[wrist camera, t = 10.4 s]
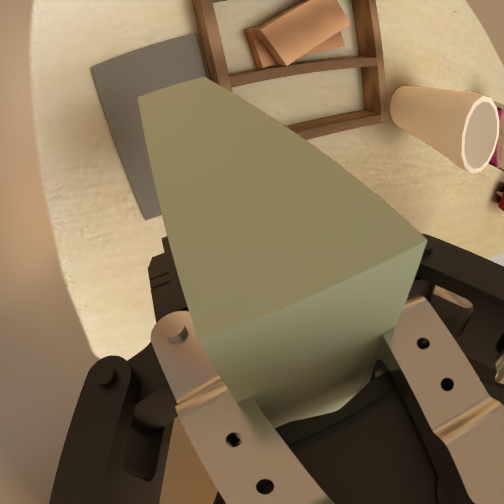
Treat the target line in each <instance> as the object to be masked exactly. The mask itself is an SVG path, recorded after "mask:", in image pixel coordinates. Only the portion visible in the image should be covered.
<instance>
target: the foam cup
mask: <svg viewBox="0 0 504 504" xmlns="http://www.w3.org/2000/svg"><path fill="white" fill-rule="evenodd" d="M390 115H391V118H392V120H393V122H394V124H395V125H397V126H398V127H400V128H402V129H403V130H405V131H406V132H408V133H410V134H411V135H413V136H415V137H416V138H418V139H420V140H421V141H423V142H424V143H426V144H428V145H429V146H431V147H432V148H434V149H435V150H437V151H438V152H440V153H441V154H443V155H444V156H446V157H447V158H449V160H450V161H451V162H453V163H454V164H455V165H456V166H458V167H460V168H462V169H464V170H465V171H467V172H469V173H471V174H473V173H478V172H480V171H481V170H482V169H483V168H484V167H485V166H486V165H487V164H488V163H489V161H490V159H491V157H492V155H493V153H494V151H495V148H496V144H497V140H498V136H499V116H498V111H497V106H496V105H495V103H494V102H493V100H492V99H491V98H490V97H487V96H484V95H481V94H478V93H475V92H469V91H465V92H460V91H452V90H445V89H436V88H426V87H415V86H402V87H400V88H398V89H396V91H395V93H394V94H393V96H392V98H391V103H390Z"/></svg>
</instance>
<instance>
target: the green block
mask: <svg viewBox="0 0 504 504" xmlns="http://www.w3.org/2000/svg"><path fill="white" fill-rule="evenodd" d="M138 103H139V108H140V114H141V119H142V125H143V130H144V135H145V140H146V145H147V150H148V155H149V160H150V165H151V169H152V174H153V178H154V183H155V187H156V192H157V196H158V200H159V204H160V208H161V213H162V217H163V221H164V225H165V228H166V232H167V236H168V240H169V244H170V248H171V251H172V255H173V259H174V262H175V266H176V269H177V273H178V276H179V280H180V283H181V287H182V290H183V293H184V297H185V300H186V303H187V307H188V310H189V313H190V316H191V319H192V323H193V326H194V329H195V332H196V335H197V338H198V341H199V343H200V345H201V346H202V348H203V350H204V351H205V353H206V355H207V356H208V358H209V360H210V361H211V363H212V365H213V366H214V368H215V369H216V371H217V373H218V374H219V376H220V377H221V379H222V381H223V382H224V384H225V385H226V387H227V388H228V390H229V392H230V393H231V395H232V396H233V398H234V399H235V401H236V402H239V401H241V400H244V399H247V398H249V397H252V398H253V399H254V400H255V402H256V403H257V405H258V406H259V408H260V409H261V410H262V412H263V413H264V415H265V416H266V417H267V419H268V420H269V422H270V423H271V424H272V426H273V427H274V428H276V427H279V426H281V425H284V424H286V423H288V422H290V421H295V420H300V419H305V418H310V417H314V416H319V415H323V414H328V413H332V412H335V411H337V410H339V409H340V408H342V407H343V406H344V405H345V404H346V403H347V402H348V401H349V400H351V399H352V398H353V397H354V396H355V395H356V394H357V392H358V390H359V388H360V386H361V383H362V381H363V379H364V377H365V374H366V372H367V370H368V367H369V365H370V363H371V360H372V358H373V355H374V353H375V350H376V348H377V345H378V343H379V340H380V338H381V335H382V333H384V332H386V331H388V330H389V329H391V328H393V327H394V326H396V323H397V321H398V319H399V316H400V314H401V312H402V309H403V307H404V304H405V302H406V299H407V297H408V294H409V292H410V289H411V286H412V284H413V281H414V278H415V275H416V273H417V270H418V267H419V264H420V261H421V258H422V255H423V252H424V249H425V246H426V243H427V239H426V238H425V237H424V236H423V235H422V234H421V233H420V232H419V231H417V230H416V229H415V228H414V227H413V226H412V225H411V224H410V223H409V222H408V221H406V220H405V219H404V218H403V217H402V216H401V215H400V214H399V213H398V212H396V211H395V210H394V209H393V208H392V207H391V206H389V205H388V204H387V203H386V202H385V201H384V200H382V199H381V198H380V197H379V196H378V195H377V194H375V193H374V192H373V191H372V190H370V189H369V188H368V187H367V186H366V185H364V184H363V183H362V182H361V181H359V180H358V179H357V178H356V177H354V176H353V175H352V174H351V173H349V172H348V171H347V170H345V169H344V168H343V167H342V166H340V165H339V164H338V163H336V162H335V161H334V160H332V159H331V158H330V157H328V156H327V155H326V154H324V153H323V152H321V151H320V150H319V149H317V148H316V147H315V146H313V145H312V144H310V143H309V142H308V141H306V140H305V139H303V138H302V137H300V136H299V135H298V134H296V133H295V132H293V131H292V130H290V129H289V128H287V127H286V126H284V125H283V124H281V123H280V122H278V121H277V120H275V119H274V118H272V117H271V116H269V115H268V114H266V113H265V112H263V111H261V110H260V109H258V108H257V107H255V106H253V105H252V104H250V103H249V102H247V101H245V100H244V99H242V98H240V97H239V96H237V95H235V94H234V93H232V92H230V91H228V90H227V89H225V88H223V87H222V86H220V85H218V84H216V83H215V82H213V81H211V80H209V79H207V78H206V77H201V78H197V79H193V80H190V81H186V82H183V83H179V84H176V85H173V86H169V87H166V88H163V89H160V90H157V91H154V92H151V93H148V94H145V95H142V96H139V97H138Z"/></svg>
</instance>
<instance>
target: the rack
mask: <svg viewBox="0 0 504 504" xmlns="http://www.w3.org/2000/svg"><path fill="white" fill-rule="evenodd" d="M219 1H225V0H192V2H193V6H194V10H195V15H196V19H197V23H198V27H199V31H200V36H201V40H202V44H203V48H204V53H205V57H206V61H207V65H208V69H209V74H210V78H211V81H213V82H215V83H216V84H218V85H220V86H222V87H223V88H225V89H227V90H228V91H230V92H232V87H236V86H241V85H245V84H250V83H254V82H259V81H264V80H269V79H274V78H280V77H285V76H291V75H297V74H304V73H311V72H318V71H326V70H335V69H345V68H356V67H361V68H362V78H363V89H364V101H365V110H361V111H356V112H350V113H345V114H340V115H335V116H330V117H325V118H320V119H316V120H311V121H307V122H302V123H298V124H294V125H290V126H286V127H287V128H289V129H290V130H292V131H293V132H295V133H296V134H298V135H299V136H300V137H302V138H303V139H305V140H308V139H311V138H315V137H319V136H324V135H328V134H332V133H336V132H340V131H345V130H349V129H354V128H358V127H363V126H368V125H373V124H378V123H383V122H387V103H386V86H385V72H384V61H383V51H382V43H381V35H380V27H379V20H378V14H377V8H376V2H375V0H352V5H353V11H354V17H355V23H356V29H357V36H358V43H359V51H360V56H356V57H341V58H329V59H319V60H310V61H302V62H295V63H291V64H289V65H288V66H278V65H275V66H269V67H265V68H258V69H253V70H248V71H243V72H239V73H234V74H230V75H229V74H228V69H227V65H226V60H225V56H224V52H223V47H222V43H221V38H220V34H219V30H218V25H217V21H216V17H215V12H214V8H213V4H212V3H213V2H219ZM232 93H233V92H232Z"/></svg>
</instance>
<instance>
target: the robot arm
mask: <svg viewBox="0 0 504 504" xmlns="http://www.w3.org/2000/svg"><path fill="white" fill-rule="evenodd" d="M422 235H423V236H424V237H425V238H426V239H427V243H426V246H425V249H424V252H423V255H422V258H421V261H420V264H419V267H418V270H417V273H416V275H415V278H414V281H413V284H412V286H411V289H410V292H409V294H408V297H407V299H406V302H405V304H404V307H403V309H402V312H401V314H400V316H399V319H398V321H397V323H396V326H394V327H393V328H391V329H389V330H388V331H386V332H384V333H382V335H381V338H380V340H379V343H378V345H377V348H376V350H375V353H374V355H373V358H372V360H371V363H370V365H369V367H368V370H367V372H366V374H365V377H364V379H363V381H362V383H361V386H360V388H359V390H358V392H357V394H356V395H355V396H354V397H353V398H352V399H351V400H349V401H348V402H347V403H346V404H345V405H344V406H343V407H342V408H340V409H339V410H337V411H335V412H332V413H328V414H323V415H319V416H314V417H310V418H305V419H300V420H295V421H290V422H288V423H286V424H284V425H281V426H279V427H276V428H274V427H273V426H272V424H271V423H270V422H269V420H268V419H267V417H266V416H265V415H264V413H263V412H262V410H261V409H260V408H259V406H258V405H257V403H256V402H255V400H254V399H253V398H252V397H249V398H247V399H244V400H241V401H239V402H236V401H235V399H234V398H233V396H232V395H231V393H230V392H229V390H228V388H227V387H226V385H225V384H224V382H223V381H222V379H221V377H220V376H219V374H218V373H217V371H216V369H215V368H214V366H213V365H212V363H211V361H210V360H209V358H208V356H207V355H206V353H205V351H204V350H203V348H202V346H201V345H200V343H199V341H198V338H197V335H196V332H195V329H194V326H193V323H192V319H191V316H190V313H189V310H188V307H187V303H186V300H185V297H184V293H183V290H182V287H181V283H180V280H179V276H178V273H177V269H176V266H175V262H174V259H173V255H172V251H171V248H170V244H169V240H168V236H166V237H164V238H162V243H163V247H164V252H165V253H163V254H160V255H157V256H155V257H152V260H151V262H150V265H149V267H148V273H149V279H150V287H151V293H152V300H153V306H154V312H155V318H156V325H155V326H154V328H153V330H152V333H151V342H150V343H149V345H148V346H147V347H146V348H145V349H143V350H142V351H141V352H139V353H138V354H136V355H135V356H134V357H132V358H131V359H129V360H128V361H126V360H125V359H124V358H122V357H120V356H107V357H104V358H102V359H100V360H99V361H97V362H96V363H95V364H94V365H93V366H92V367H91V369H90V370H89V372H88V375H87V377H86V380H85V382H84V385H83V388H82V391H81V394H80V396H79V399H78V402H77V405H76V408H75V412H74V414H73V417H72V420H71V423H70V427H69V430H68V433H67V437H66V440H65V443H64V447H63V450H62V454H61V457H60V461H59V465H58V469H57V472H56V476H55V480H54V485H53V489H52V493H51V498H50V503H49V504H159V501H160V494H161V489H162V483H163V477H164V470H165V465H166V460H167V454H168V449H169V443H170V438H171V433H172V427H173V422H174V418H176V417H177V416H179V419H180V420H181V422H182V424H183V427H184V429H185V431H186V433H187V435H188V437H189V439H190V441H191V442H192V444H193V446H194V448H195V450H196V452H197V454H198V456H199V458H200V459H201V461H202V463H203V465H204V467H205V468H206V470H207V472H208V474H209V476H210V477H211V479H212V481H213V483H214V484H215V486H216V488H217V489H218V492H217V495H216V498H215V500H214V503H213V504H504V267H503V266H501V265H499V264H497V263H494V262H492V261H490V260H488V259H485V258H483V257H481V256H479V255H476V254H474V253H472V252H469V251H467V250H464V249H462V248H460V247H457V246H455V245H452V244H450V243H447V242H445V241H442V240H440V239H437V238H435V237H432V236H430V235H426V234H422Z"/></svg>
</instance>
